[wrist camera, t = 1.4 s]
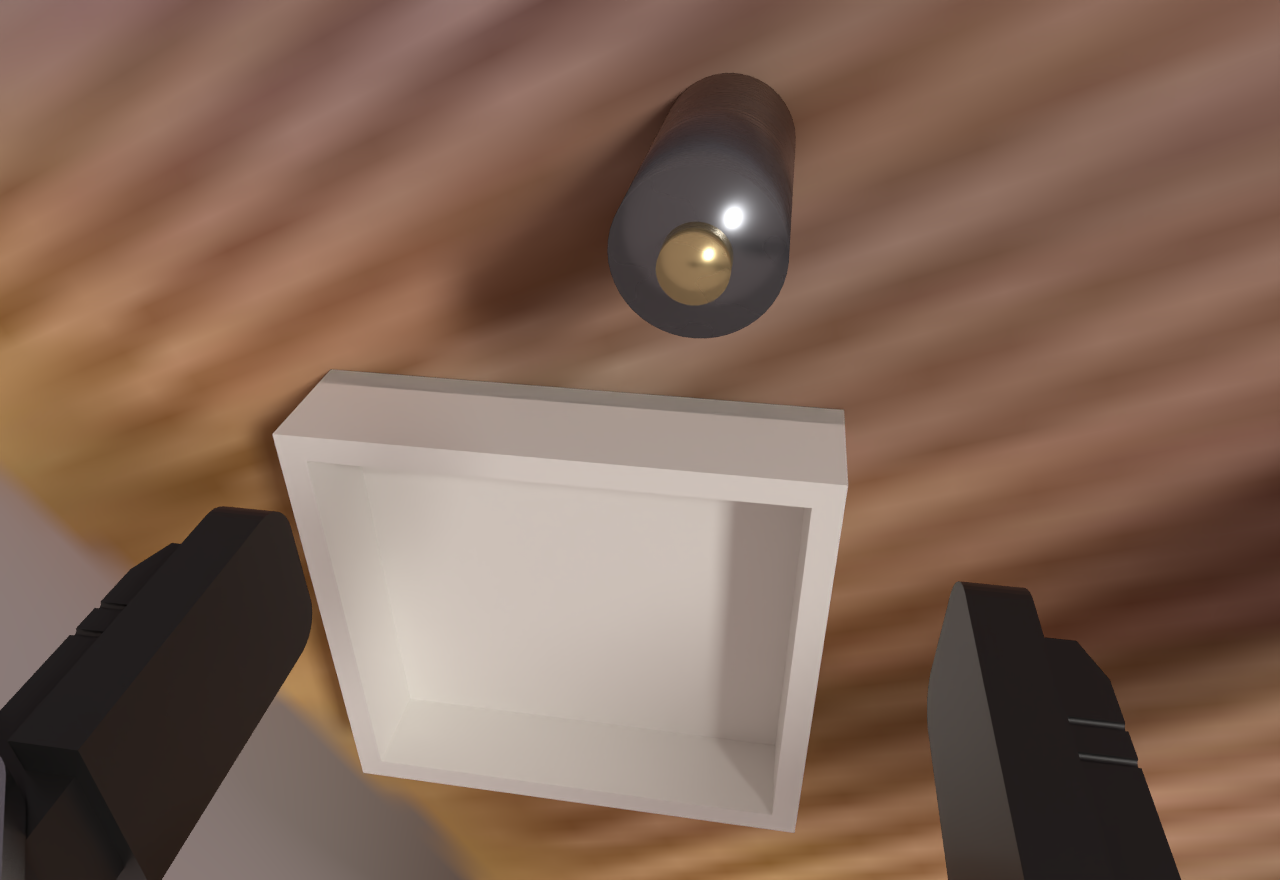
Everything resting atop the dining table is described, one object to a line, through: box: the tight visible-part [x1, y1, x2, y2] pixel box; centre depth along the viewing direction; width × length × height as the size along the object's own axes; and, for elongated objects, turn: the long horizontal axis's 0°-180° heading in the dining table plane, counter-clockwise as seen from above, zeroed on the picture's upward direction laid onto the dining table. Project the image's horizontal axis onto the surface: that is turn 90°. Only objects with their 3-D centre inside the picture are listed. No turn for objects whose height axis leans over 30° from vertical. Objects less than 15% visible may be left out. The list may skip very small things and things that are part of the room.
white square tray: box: [272, 370, 848, 833], centre depth 36 cm, size 19×18×4 cm
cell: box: [608, 73, 796, 338], centre depth 23 cm, size 4×4×10 cm
